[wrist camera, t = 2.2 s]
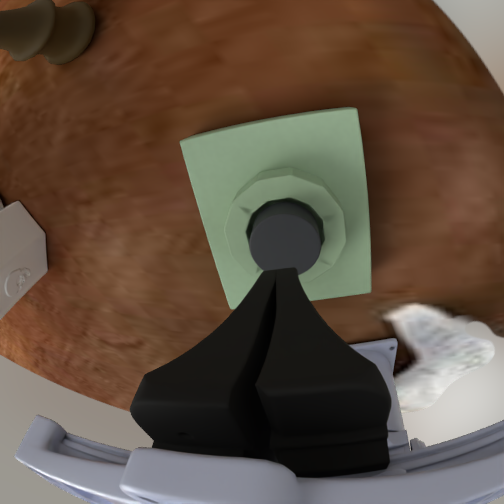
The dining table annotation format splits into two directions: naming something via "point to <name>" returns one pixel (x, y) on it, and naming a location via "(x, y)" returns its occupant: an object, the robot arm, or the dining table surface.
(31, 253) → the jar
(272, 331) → the robot arm
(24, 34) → the kendama
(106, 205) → the dining table surface
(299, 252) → the push button
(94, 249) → the dining table surface
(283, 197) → the green button box
